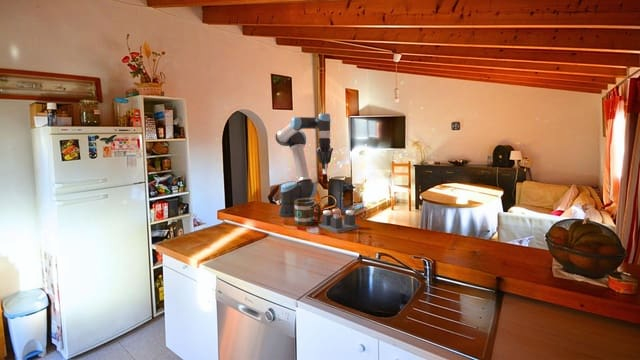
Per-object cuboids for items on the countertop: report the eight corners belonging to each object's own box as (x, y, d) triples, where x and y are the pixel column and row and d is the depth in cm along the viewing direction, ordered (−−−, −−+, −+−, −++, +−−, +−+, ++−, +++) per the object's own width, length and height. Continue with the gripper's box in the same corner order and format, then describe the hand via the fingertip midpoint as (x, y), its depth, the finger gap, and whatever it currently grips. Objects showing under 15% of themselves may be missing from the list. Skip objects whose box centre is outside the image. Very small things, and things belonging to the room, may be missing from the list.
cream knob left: (344, 223, 218) (344, 210, 217) (350, 222, 221) (350, 209, 220) (349, 224, 214) (349, 212, 213) (355, 223, 217) (355, 211, 216)
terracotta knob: (330, 222, 211) (330, 209, 210) (336, 221, 214) (336, 208, 213) (336, 224, 207) (335, 210, 206) (342, 222, 210) (342, 209, 209)
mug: (290, 223, 228) (289, 201, 226) (302, 219, 239) (302, 198, 237) (314, 228, 217) (313, 204, 215) (326, 223, 228) (326, 201, 225)
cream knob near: (321, 223, 219) (321, 211, 217) (327, 222, 222) (327, 209, 220) (326, 225, 215) (326, 212, 214) (332, 223, 218) (332, 211, 217)
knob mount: (318, 226, 220) (318, 214, 219) (339, 222, 231) (339, 210, 230) (336, 233, 206) (336, 220, 205) (358, 227, 217) (358, 215, 216)
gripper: (320, 137, 218) (320, 175, 221) (335, 137, 226) (336, 173, 229) (313, 137, 224) (313, 174, 227) (328, 137, 232) (328, 172, 235)
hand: (324, 173), depth 228 cm, fingers closed
